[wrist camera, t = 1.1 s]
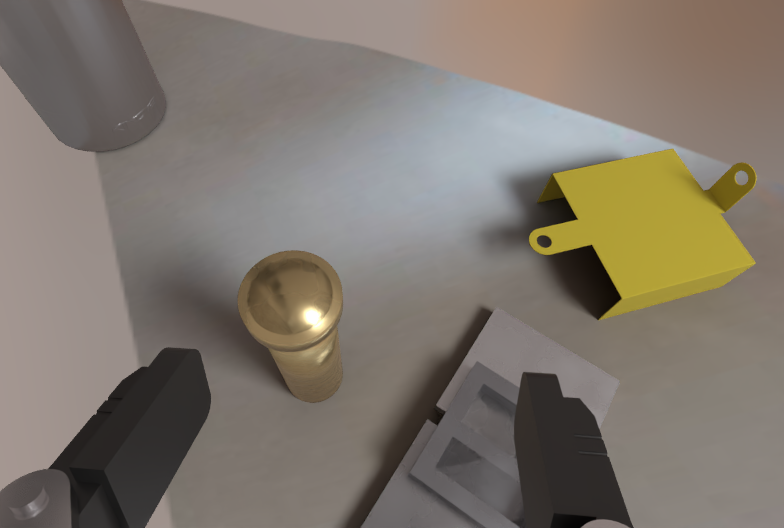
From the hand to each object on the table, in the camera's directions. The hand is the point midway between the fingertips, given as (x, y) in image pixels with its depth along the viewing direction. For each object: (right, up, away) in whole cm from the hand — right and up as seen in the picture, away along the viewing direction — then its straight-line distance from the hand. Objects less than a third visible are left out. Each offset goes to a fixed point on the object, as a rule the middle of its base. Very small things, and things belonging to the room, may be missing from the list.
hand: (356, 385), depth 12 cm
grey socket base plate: (+7, -9, +17) cm, 21 cm away
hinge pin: (-4, -4, +19) cm, 20 cm away
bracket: (+17, +4, +26) cm, 31 cm away
